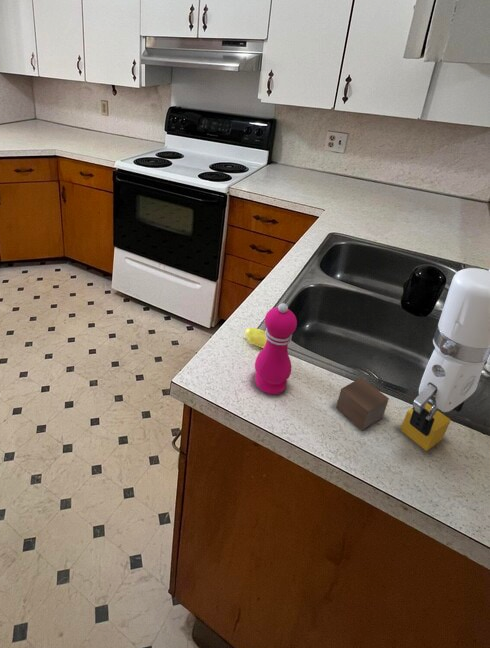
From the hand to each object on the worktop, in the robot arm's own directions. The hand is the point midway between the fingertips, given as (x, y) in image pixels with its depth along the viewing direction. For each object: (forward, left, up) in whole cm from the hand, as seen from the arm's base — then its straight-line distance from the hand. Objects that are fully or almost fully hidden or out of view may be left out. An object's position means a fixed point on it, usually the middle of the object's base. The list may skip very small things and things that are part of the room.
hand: (435, 417), depth 76 cm
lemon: (+11, -34, -5) cm, 36 cm away
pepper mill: (+17, -24, -5) cm, 29 cm away
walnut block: (+7, -10, -5) cm, 13 cm away
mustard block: (+1, -1, -5) cm, 5 cm away
